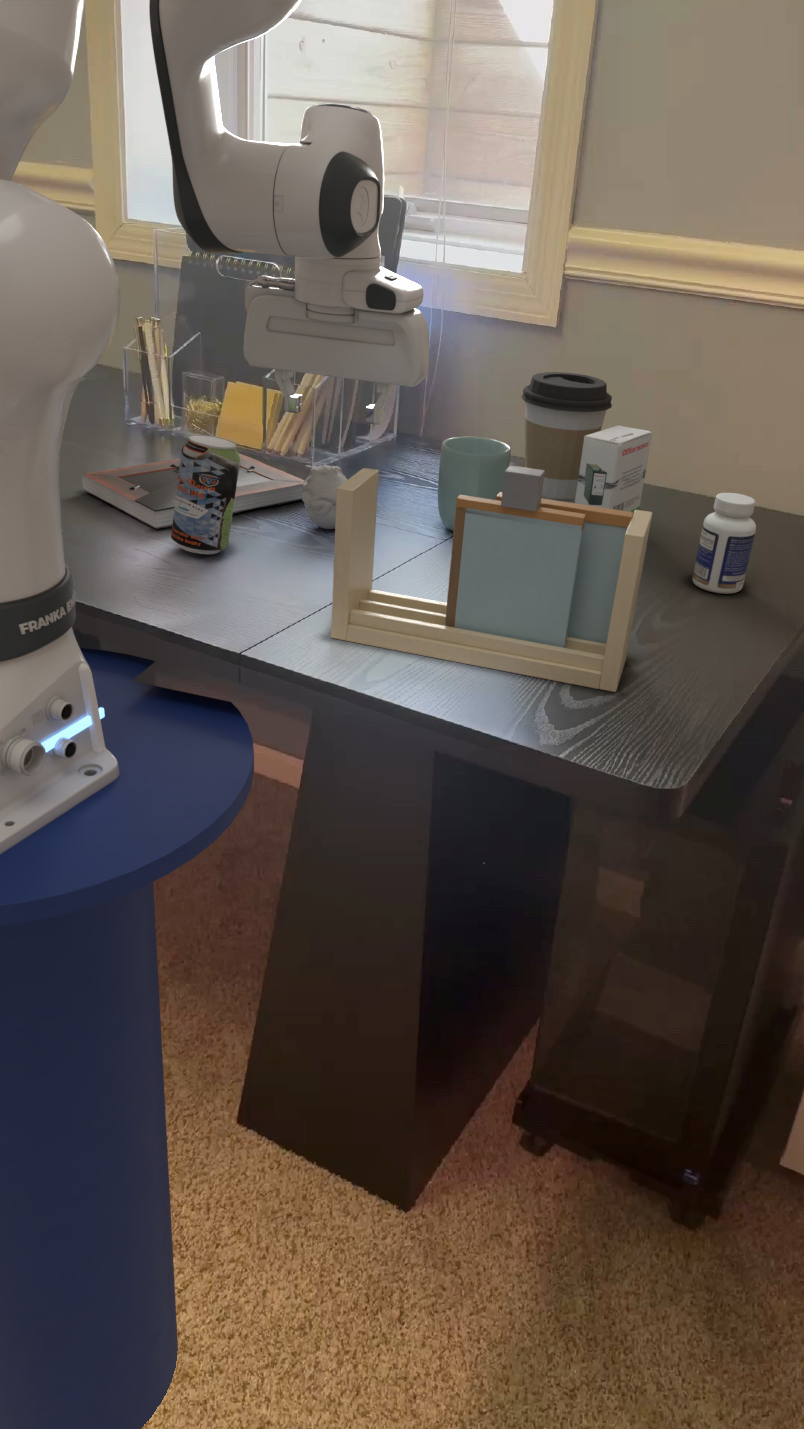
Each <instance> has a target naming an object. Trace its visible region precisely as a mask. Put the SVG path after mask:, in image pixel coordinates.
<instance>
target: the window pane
mask: <svg viewBox="0 0 804 1429" xmlns="http://www.w3.org/2000/svg"><path fill="white" fill-rule="evenodd" d="M544 475H545V471H544V470H539V469H532V468H525V466H524V467H523V466H518V465H509V467H508V468H507V469H506V471H505V474H504V482H503V491H502V500H501V501H498V500H492V499H485V498H479V497H473V496H466V495H459V496H458V497H457V499H456V509H455V521H454V531H452V532H453V534H452V543H451V544H452V545H451V554H450V564H449V565H450V566H449V577H448V586H447V598H446V603H447V607H446V618H445V626H448V627H454V628H459V629H465V630H470V631H475V632H481V633H486V634H492V635H497V636H502V637H508V638H513V639H519V640H524V641H530V642H535V643H540V644H546V645H551V646H557V647H562V648H566V642H567V635H568V629H569V622H570V615H571V609H572V602H573V596H574V589H575V583H576V576H577V569H578V563H579V556H580V550H581V543H582V537H583V530H584V524H585V517H586V514H582V513H575V512H569V511H563V510H556V509H550V508H543V507H539V506H540V505H541V498H542V490H543V482H544Z"/></svg>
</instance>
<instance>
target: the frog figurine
mask: <svg viewBox="0 0 804 1429" xmlns="http://www.w3.org/2000/svg"><path fill="white" fill-rule="evenodd" d="M309 472H310V473H309V475H308V476H307V477H306V478H305V479H304V480H305V481H304V483H303V494H302V500H301V501H302V502H303V503H304V508H305V511H306V512H307V515H308V516H309V518H310V520H311V521H312V522H313V523H314V524H315V525H316V526H317V527H319V528H321V529H324V530H335V523H336V497H337V488H338V487H339V486H340V485H342V484H343V483H344V482H346V481H347V480H348V479H347V478H346V475H345V474H344V473H343V472H342V468H341V467H340V466H338V465H330V464H327V465H326V464H323V465H320V466H318V467H315V466H314V467H311V469H310V471H309Z"/></svg>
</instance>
